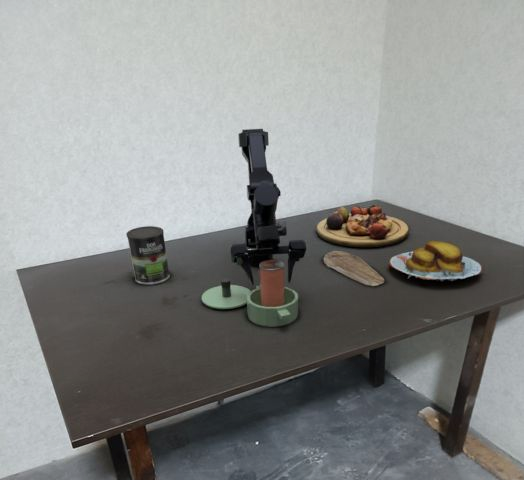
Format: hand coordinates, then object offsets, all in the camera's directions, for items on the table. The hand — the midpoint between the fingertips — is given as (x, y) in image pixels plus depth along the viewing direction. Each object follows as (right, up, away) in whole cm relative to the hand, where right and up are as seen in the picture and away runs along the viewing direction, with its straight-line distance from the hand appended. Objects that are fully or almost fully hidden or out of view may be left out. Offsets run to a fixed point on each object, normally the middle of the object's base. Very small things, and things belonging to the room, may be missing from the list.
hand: (271, 283), depth 120 cm
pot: (0, -8, +2) cm, 8 cm away
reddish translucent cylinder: (0, -7, +2) cm, 7 cm away
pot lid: (-12, -2, +10) cm, 16 cm away
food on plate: (+48, +6, +21) cm, 53 cm away
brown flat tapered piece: (+25, +7, +24) cm, 36 cm away
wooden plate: (+33, +25, +51) cm, 66 cm away
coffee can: (-35, +5, +24) cm, 43 cm away
